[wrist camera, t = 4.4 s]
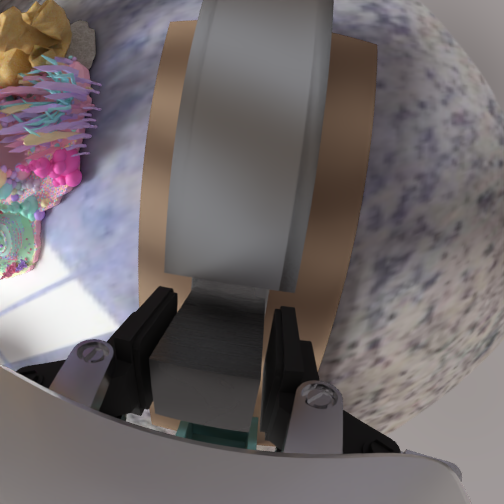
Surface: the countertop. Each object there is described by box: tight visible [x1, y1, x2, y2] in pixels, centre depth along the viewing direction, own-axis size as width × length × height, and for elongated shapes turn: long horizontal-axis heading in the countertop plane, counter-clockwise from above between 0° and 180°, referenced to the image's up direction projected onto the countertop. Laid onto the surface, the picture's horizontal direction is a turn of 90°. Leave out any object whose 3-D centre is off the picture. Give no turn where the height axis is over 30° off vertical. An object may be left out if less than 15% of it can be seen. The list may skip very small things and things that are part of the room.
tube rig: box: [138, 0, 377, 450], centre depth 14 cm, size 30×12×7 cm, turn 172°
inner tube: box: [149, 278, 269, 432], centre depth 10 cm, size 19×3×8 cm, turn 172°
